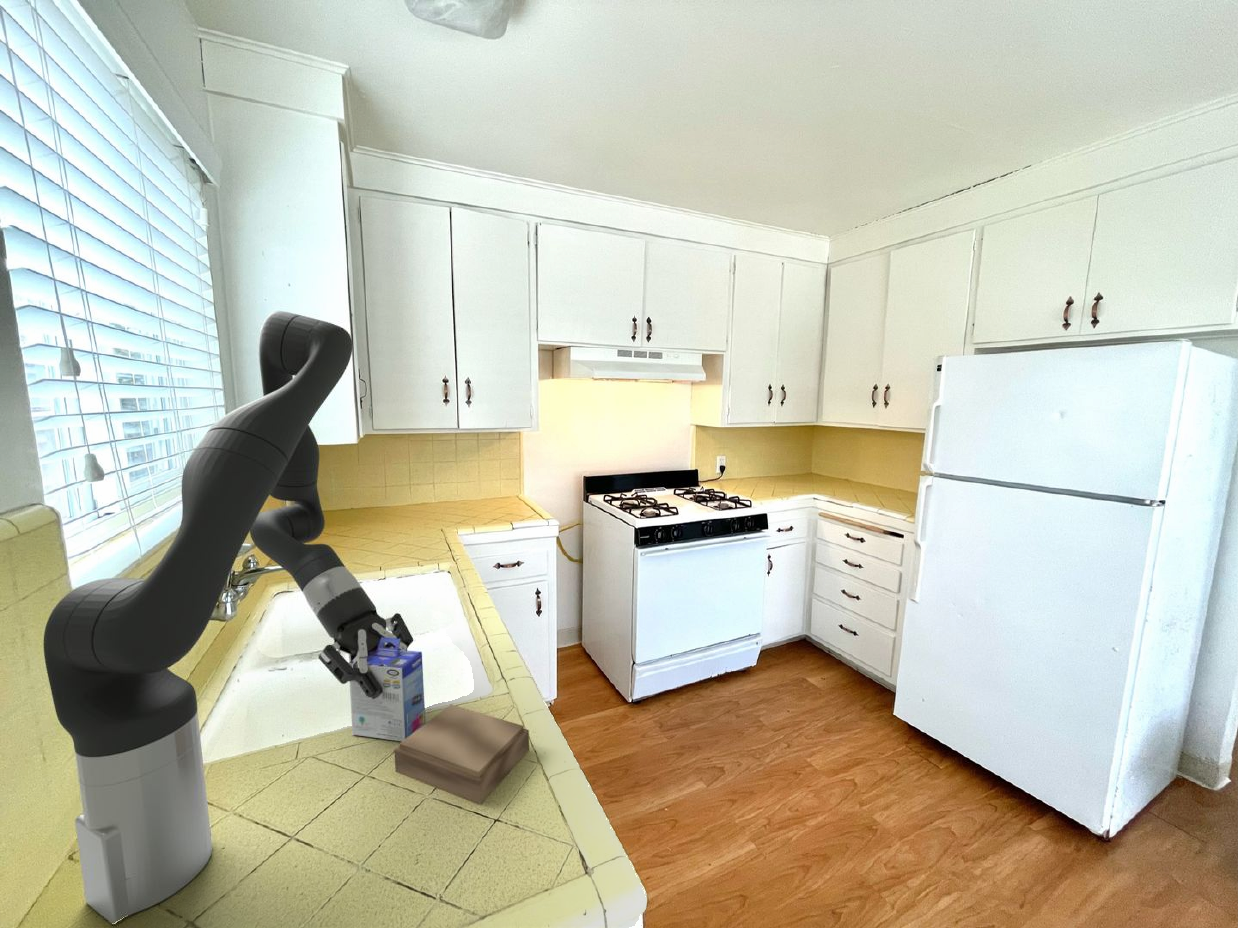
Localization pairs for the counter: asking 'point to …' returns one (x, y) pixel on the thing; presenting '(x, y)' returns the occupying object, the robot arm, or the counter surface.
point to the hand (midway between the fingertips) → (396, 684)
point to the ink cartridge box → (390, 694)
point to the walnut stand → (462, 752)
